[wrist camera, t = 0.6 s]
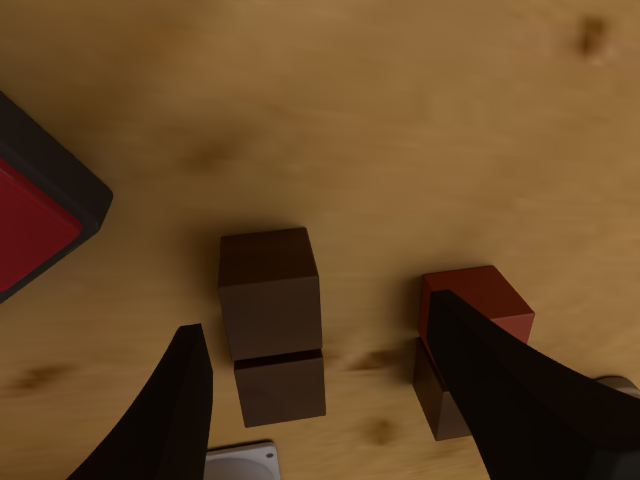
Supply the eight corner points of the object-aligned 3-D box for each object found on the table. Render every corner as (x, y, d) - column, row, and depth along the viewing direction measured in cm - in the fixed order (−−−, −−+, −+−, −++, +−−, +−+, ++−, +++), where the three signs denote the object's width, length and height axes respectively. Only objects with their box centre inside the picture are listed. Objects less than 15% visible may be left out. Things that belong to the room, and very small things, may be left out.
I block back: (474, 375, 31) (505, 430, 28) (412, 385, 31) (435, 441, 27) (483, 328, 29) (519, 380, 25) (416, 338, 29) (443, 392, 25)
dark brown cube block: (316, 356, 28) (328, 415, 24) (244, 367, 28) (245, 428, 24) (313, 302, 26) (325, 357, 22) (234, 312, 25) (233, 370, 22)
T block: (312, 293, 26) (324, 348, 22) (232, 303, 25) (231, 361, 21) (308, 226, 23) (321, 275, 20) (220, 236, 23) (216, 287, 19)
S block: (484, 321, 29) (521, 373, 25) (417, 330, 28) (444, 385, 25) (495, 264, 27) (537, 312, 23) (422, 274, 26) (453, 324, 22)
